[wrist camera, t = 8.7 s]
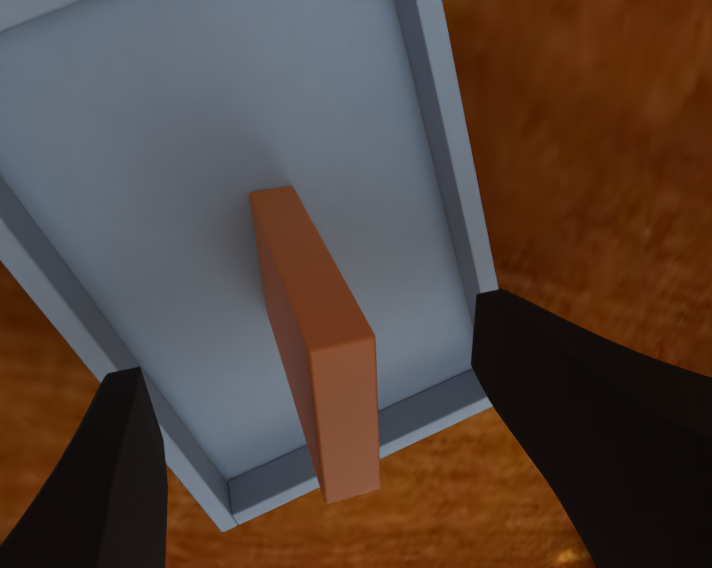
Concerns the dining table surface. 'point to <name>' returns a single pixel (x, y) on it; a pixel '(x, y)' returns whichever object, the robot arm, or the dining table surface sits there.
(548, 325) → the robot arm
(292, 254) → the orange rectangular block
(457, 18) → the dining table surface
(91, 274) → the tray
